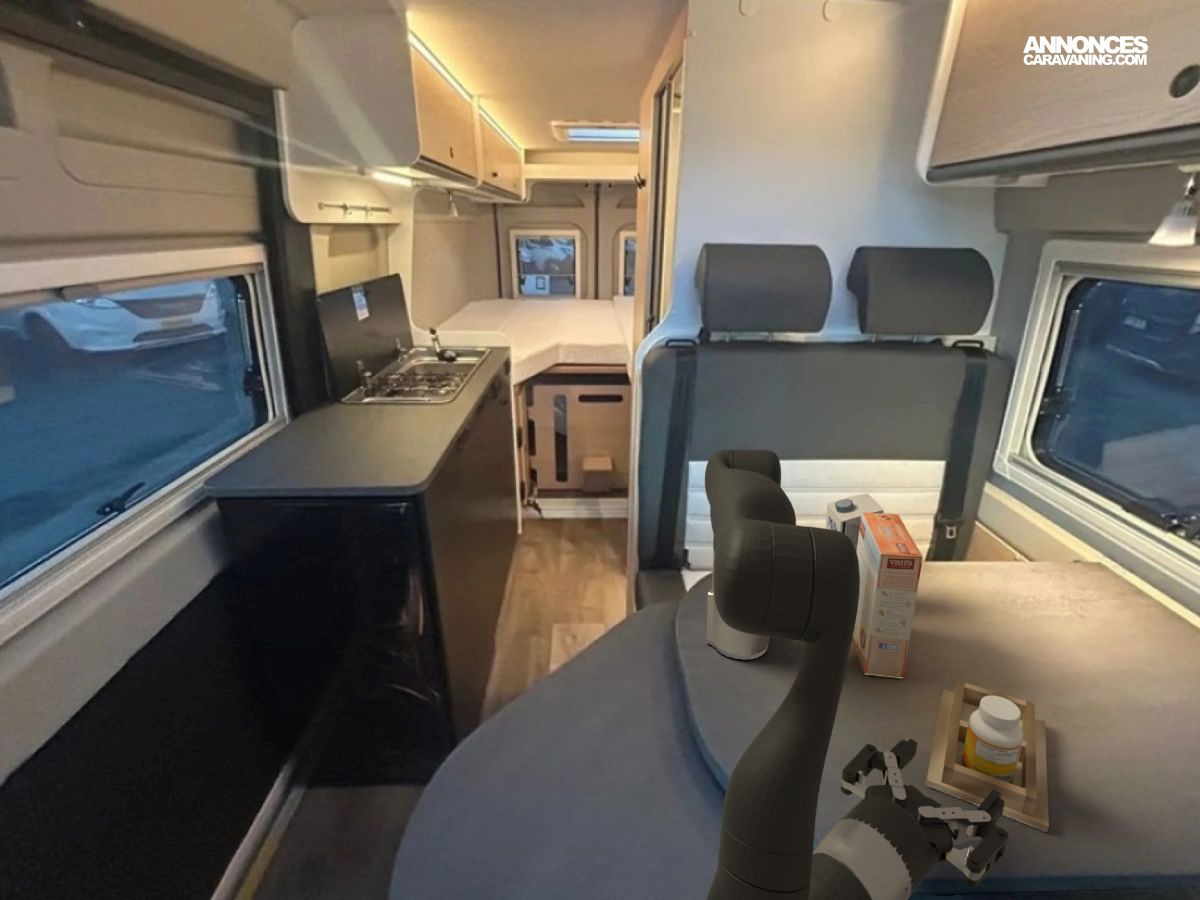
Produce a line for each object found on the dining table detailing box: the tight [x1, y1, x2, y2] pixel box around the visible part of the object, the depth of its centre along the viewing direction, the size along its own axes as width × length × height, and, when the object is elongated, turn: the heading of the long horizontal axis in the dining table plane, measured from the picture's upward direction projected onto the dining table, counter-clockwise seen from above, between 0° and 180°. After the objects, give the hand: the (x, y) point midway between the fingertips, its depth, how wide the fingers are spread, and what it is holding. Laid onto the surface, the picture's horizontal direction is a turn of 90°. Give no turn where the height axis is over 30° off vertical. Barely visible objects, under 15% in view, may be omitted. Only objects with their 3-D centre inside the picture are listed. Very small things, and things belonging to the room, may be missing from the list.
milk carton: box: [824, 493, 885, 552], centre depth 107 cm, size 7×7×20 cm
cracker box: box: [852, 512, 924, 678], centre depth 95 cm, size 14×6×21 cm, turn 168°
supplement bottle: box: [962, 696, 1023, 784], centre depth 73 cm, size 5×5×10 cm
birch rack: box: [925, 680, 1050, 833], centre depth 78 cm, size 12×18×4 cm, turn 147°
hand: (952, 770), depth 66 cm, fingers open, 8 cm apart
